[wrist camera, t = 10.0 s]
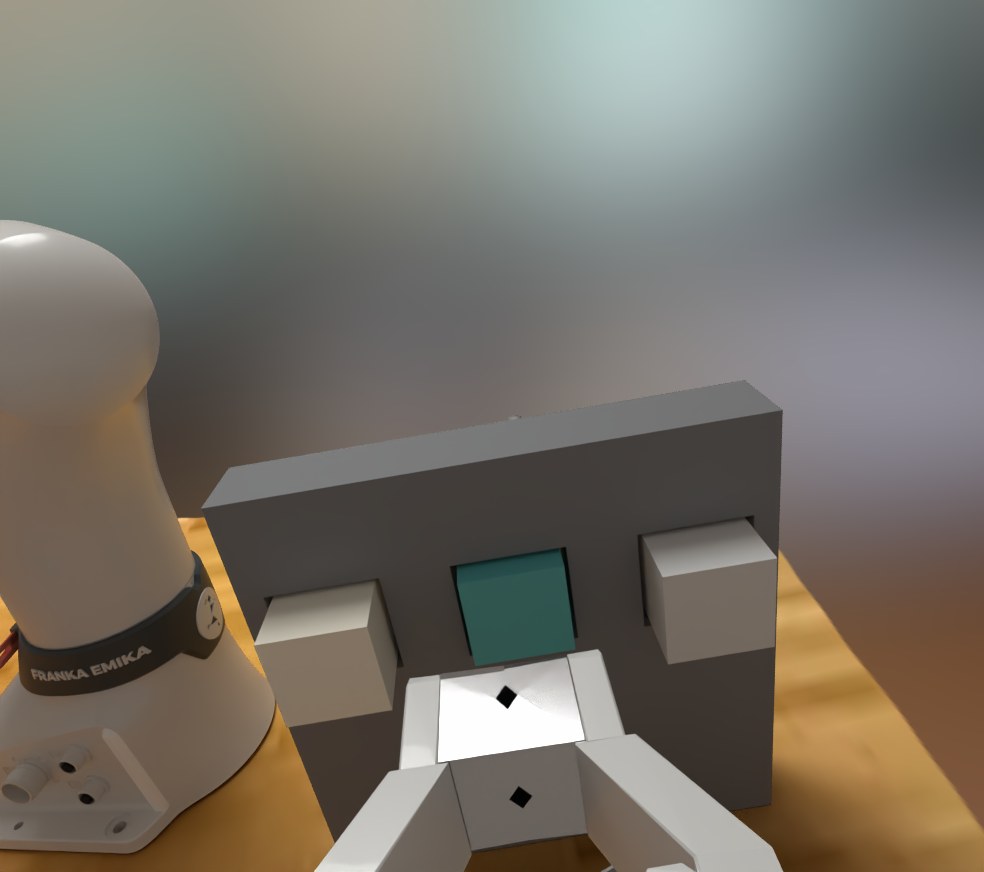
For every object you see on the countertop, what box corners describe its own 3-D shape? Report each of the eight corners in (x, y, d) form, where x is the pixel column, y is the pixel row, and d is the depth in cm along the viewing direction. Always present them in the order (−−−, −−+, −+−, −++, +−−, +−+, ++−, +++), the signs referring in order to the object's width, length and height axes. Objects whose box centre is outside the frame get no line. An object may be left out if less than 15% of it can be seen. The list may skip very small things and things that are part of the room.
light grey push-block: (668, 664, 30) (662, 577, 28) (634, 584, 36) (628, 507, 34) (774, 646, 30) (777, 558, 28) (724, 569, 36) (723, 491, 33)
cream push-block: (286, 727, 30) (253, 645, 28) (311, 638, 36) (285, 564, 34) (392, 710, 30) (366, 626, 28) (401, 623, 36) (380, 548, 34)
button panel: (347, 873, 39) (201, 508, 29) (355, 811, 43) (229, 467, 32) (771, 804, 39) (782, 410, 28) (743, 748, 43) (744, 380, 32)
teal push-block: (475, 666, 32) (457, 584, 30) (471, 590, 37) (456, 516, 35) (575, 649, 32) (564, 566, 30) (557, 575, 37) (546, 501, 35)
